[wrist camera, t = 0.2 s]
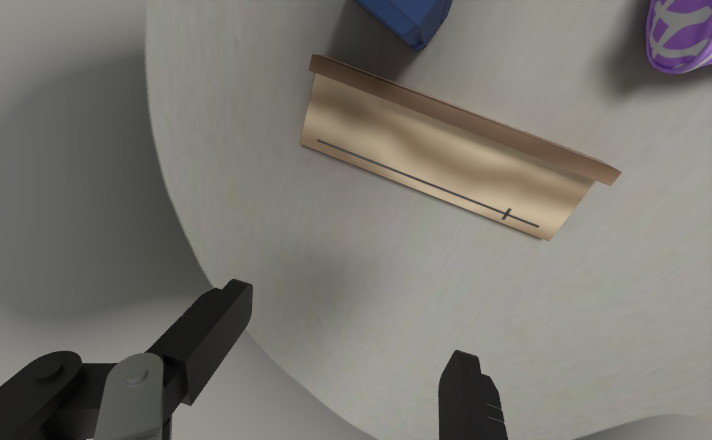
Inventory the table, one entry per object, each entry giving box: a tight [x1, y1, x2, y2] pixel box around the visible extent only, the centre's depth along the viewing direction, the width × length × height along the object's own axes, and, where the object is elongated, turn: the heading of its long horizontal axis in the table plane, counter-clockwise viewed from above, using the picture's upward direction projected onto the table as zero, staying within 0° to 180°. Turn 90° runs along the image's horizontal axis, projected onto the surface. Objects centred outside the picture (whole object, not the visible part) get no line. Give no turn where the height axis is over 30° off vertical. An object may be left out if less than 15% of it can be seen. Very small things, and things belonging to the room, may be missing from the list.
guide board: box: [300, 54, 622, 241], centre depth 34 cm, size 10×32×4 cm, turn 72°
